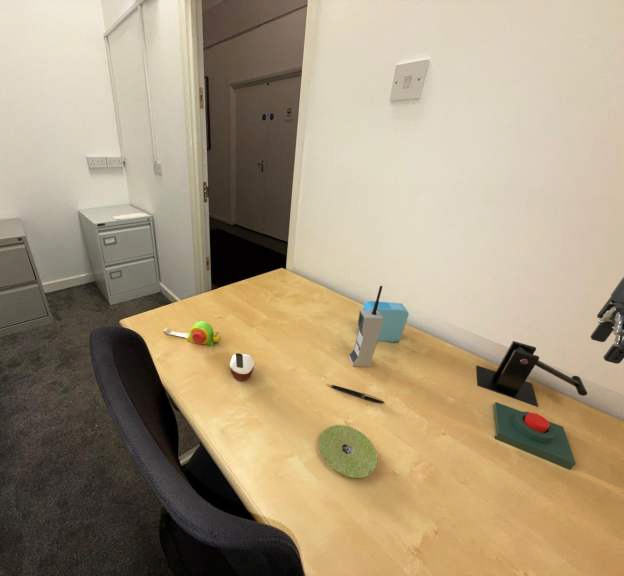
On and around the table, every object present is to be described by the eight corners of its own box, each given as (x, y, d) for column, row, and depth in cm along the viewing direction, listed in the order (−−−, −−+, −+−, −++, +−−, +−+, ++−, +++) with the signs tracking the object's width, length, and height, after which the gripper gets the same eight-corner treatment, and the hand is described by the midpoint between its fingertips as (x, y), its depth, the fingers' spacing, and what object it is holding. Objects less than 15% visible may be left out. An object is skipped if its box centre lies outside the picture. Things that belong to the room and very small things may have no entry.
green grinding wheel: (387, 473, 58) (390, 467, 57) (337, 491, 55) (339, 484, 54) (352, 425, 67) (354, 419, 67) (308, 437, 65) (309, 431, 64)
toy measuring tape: (216, 351, 89) (215, 333, 86) (159, 337, 95) (157, 320, 91) (224, 339, 95) (223, 321, 91) (170, 326, 100) (168, 310, 97)
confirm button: (544, 423, 64) (548, 417, 64) (547, 435, 62) (551, 430, 61) (522, 415, 66) (526, 409, 65) (525, 427, 64) (528, 421, 63)
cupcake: (240, 362, 85) (241, 327, 80) (259, 370, 82) (261, 335, 77) (220, 382, 78) (220, 346, 72) (241, 393, 75) (241, 356, 70)
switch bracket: (529, 386, 79) (554, 348, 73) (536, 409, 72) (563, 370, 66) (474, 368, 84) (493, 331, 78) (475, 388, 78) (496, 349, 72)
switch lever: (574, 382, 72) (584, 377, 70) (581, 397, 68) (591, 392, 66) (510, 348, 76) (518, 342, 75) (513, 360, 72) (521, 354, 71)
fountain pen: (324, 387, 77) (325, 383, 77) (325, 384, 78) (326, 380, 78) (384, 406, 72) (385, 401, 72) (384, 402, 73) (385, 398, 72)
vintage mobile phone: (348, 357, 88) (366, 282, 76) (365, 358, 87) (386, 282, 76) (352, 366, 84) (371, 289, 72) (369, 367, 84) (392, 289, 72)
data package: (394, 334, 98) (404, 303, 92) (399, 342, 94) (410, 310, 88) (357, 331, 99) (364, 300, 94) (360, 339, 95) (368, 307, 90)
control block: (558, 433, 66) (567, 421, 65) (570, 470, 59) (581, 458, 57) (491, 407, 72) (498, 396, 70) (494, 439, 65) (502, 427, 63)
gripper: (707, 305, 49) (643, 377, 57) (664, 275, 60) (615, 339, 68) (640, 292, 53) (588, 362, 61) (611, 266, 64) (570, 328, 71)
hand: (603, 350), depth 64 cm, fingers open, 8 cm apart
